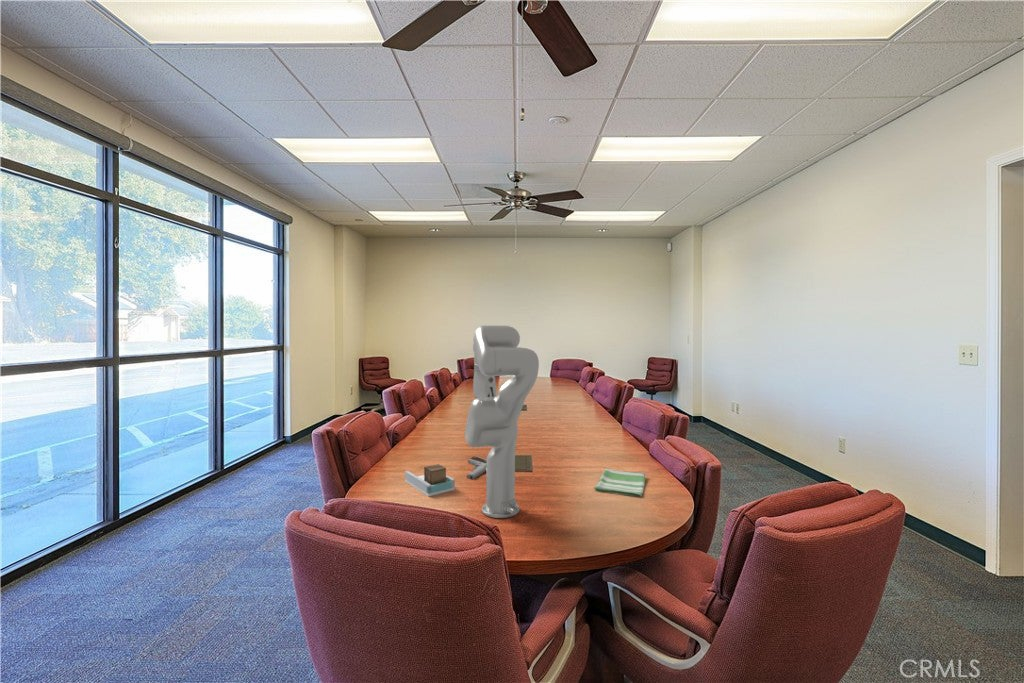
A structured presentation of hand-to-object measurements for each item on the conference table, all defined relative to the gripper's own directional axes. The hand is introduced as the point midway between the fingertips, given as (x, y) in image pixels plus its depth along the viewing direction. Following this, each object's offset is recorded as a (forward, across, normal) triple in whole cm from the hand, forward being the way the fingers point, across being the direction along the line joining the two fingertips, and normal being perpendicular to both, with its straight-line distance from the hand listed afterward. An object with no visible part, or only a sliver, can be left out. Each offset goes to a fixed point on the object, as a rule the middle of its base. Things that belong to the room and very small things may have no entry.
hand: (483, 415), depth 172 cm
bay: (+27, +11, +18) cm, 34 cm away
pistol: (+28, +18, -7) cm, 34 cm away
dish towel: (+28, -33, -43) cm, 61 cm away
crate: (+26, +6, +18) cm, 32 cm away
